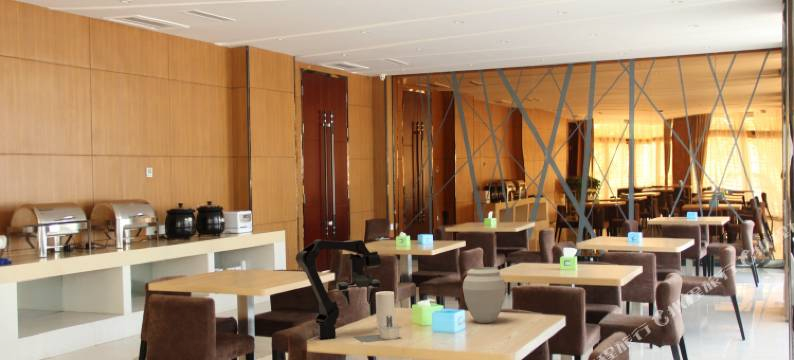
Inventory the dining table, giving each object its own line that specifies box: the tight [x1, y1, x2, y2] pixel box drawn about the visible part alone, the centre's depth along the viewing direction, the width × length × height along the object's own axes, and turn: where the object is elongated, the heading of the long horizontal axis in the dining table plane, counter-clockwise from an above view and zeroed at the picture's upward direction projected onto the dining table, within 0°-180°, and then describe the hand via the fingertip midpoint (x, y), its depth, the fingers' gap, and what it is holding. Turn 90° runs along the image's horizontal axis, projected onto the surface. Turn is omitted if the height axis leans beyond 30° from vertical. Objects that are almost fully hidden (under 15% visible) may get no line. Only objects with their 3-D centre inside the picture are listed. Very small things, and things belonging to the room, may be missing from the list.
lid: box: [378, 316, 402, 329], centre depth 336 cm, size 8×8×5 cm
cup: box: [375, 290, 396, 330], centre depth 361 cm, size 8×8×16 cm
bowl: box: [379, 328, 400, 341], centre depth 336 cm, size 8×8×4 cm
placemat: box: [353, 333, 402, 343], centre depth 337 cm, size 17×14×1 cm
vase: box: [462, 266, 507, 324], centre depth 368 cm, size 20×20×24 cm
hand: (359, 304), depth 350 cm, fingers open, 9 cm apart
